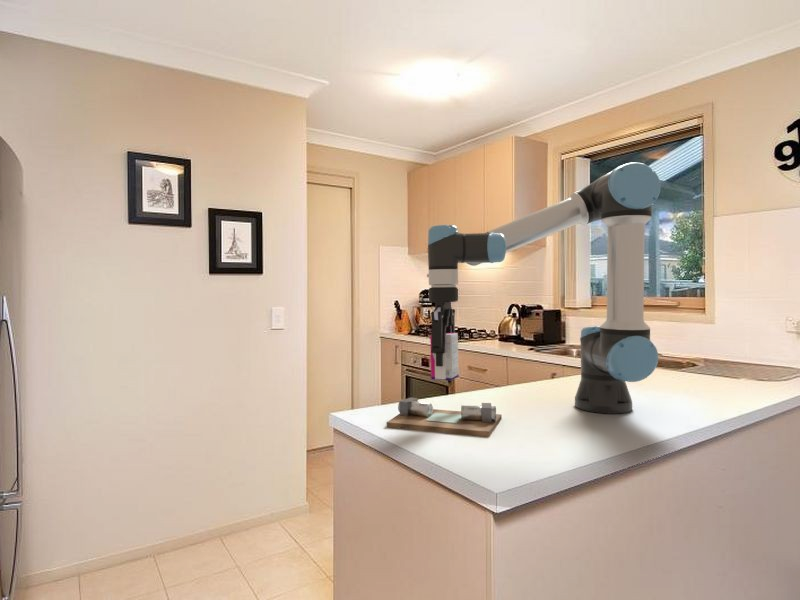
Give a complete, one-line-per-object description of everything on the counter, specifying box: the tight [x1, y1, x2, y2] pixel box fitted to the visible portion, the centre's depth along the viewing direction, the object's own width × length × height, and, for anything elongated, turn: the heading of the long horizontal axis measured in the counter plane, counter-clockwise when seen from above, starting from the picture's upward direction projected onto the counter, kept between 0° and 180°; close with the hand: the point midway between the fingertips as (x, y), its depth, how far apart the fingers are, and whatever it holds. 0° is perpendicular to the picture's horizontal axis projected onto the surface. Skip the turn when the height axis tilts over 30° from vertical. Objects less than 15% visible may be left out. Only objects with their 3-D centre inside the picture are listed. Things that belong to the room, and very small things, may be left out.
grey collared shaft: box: [460, 402, 497, 423], centre depth 125 cm, size 9×5×4 cm, turn 80°
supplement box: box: [429, 332, 460, 381], centre depth 127 cm, size 6×6×12 cm
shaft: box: [397, 397, 434, 417], centre depth 131 cm, size 9×5×4 cm, turn 57°
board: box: [386, 408, 503, 438], centre depth 128 cm, size 26×16×1 cm, turn 68°
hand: (444, 376), depth 127 cm, fingers closed on supplement box, 6 cm apart
